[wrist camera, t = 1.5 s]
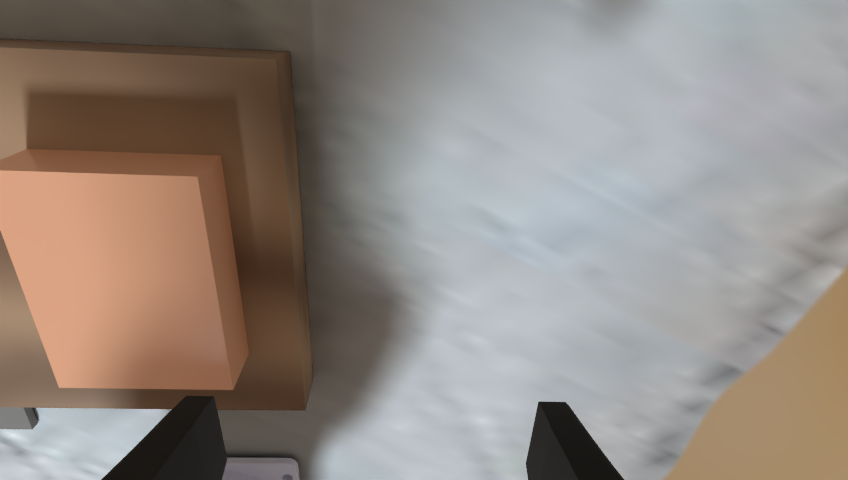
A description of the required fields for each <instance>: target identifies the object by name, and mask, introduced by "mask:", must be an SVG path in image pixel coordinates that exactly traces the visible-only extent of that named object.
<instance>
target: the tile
mask: <svg viewBox="0 0 848 480" xmlns="http://www.w3.org/2000/svg"><path fill="white" fill-rule="evenodd" d="M0 231H1V233H2V236H3V239H4V242H5V244H6V247H7V250H8V252H9V255H10V258H11V260H12V263H13V266H14V268H15V271H16V274H17V276H18V279H19V282H20V284H21V287H22V290H23V293H24V295H25V298H26V301H27V303H28V306H29V309H30V311H31V314H32V317H33V319H34V322H35V325H36V327H37V330H38V333H39V335H40V338H41V341H42V343H43V346H44V349H45V352H46V354H47V357H48V360H49V362H50V365H51V368H52V370H53V373H54V376H55V378H56V381H57V384H58V386H59V388H113V389H194V390H233V389H234V387H235V385H236V382H237V380H238V378H239V375H240V373H241V371H242V368H243V366H244V364H245V361H246V359H247V357H248V354H249V350H248V343H247V336H246V329H245V322H244V315H243V308H242V301H241V294H240V286H239V279H238V272H237V265H236V258H235V251H234V244H233V237H232V230H231V223H230V216H229V209H228V202H227V195H226V188H225V181H224V174H223V167H222V160H221V156H220V155H191V154H161V153H132V152H103V151H73V150H44V149H25V150H23V151H20V152H18V153H16V154H13V155H11V156H9V157H6V158H4V159H2V160H0Z"/></svg>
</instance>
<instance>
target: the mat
mask: <svg viewBox="0 0 848 480" xmlns="http://www.w3.org/2000/svg"><path fill="white" fill-rule="evenodd" d="M37 423H38V421H37V418H36V416H35V414H34V411H33V409H32V408H28V407H0V429H33V428H34V427H35V426H36V425H37Z"/></svg>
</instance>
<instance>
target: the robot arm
mask: <svg viewBox="0 0 848 480" xmlns="http://www.w3.org/2000/svg"><path fill="white" fill-rule="evenodd" d="M526 467H527V474H528V480H624V479H623V478H622V476H621V475H620V474H619V473H618V471H617V470H616V469H615V468H614V466H613V465H612V464H611V462H610V461H609V460H608V459H607V457H606V456H605V455H604V453H603V452H602V451H601V449H600V448H599V447H598V445H597V444H596V443H595V441H594V440H593V439H592V437H591V436H590V434H589V433H588V432H587V430H586V429H585V428H584V426H583V425H582V423H581V422H580V421H579V419H578V418H577V416H576V415H575V414H574V412H573V411H572V409H571V408H570V407H569V405H568V404H567V403H566V402H538V407H537V412H536V417H535V422H534V427H533V432H532V437H531V442H530V446H529V451H528V456H527V461H526ZM102 480H300V478H299V467H298V463H297V462H296V461H295V460H294V459H291V458H227V456H226V452H225V447H224V442H223V437H222V432H221V427H220V422H219V417H218V412H217V407H216V403H215V398H214V396H185V397H184V398H183V399H182V400H181V401H180V402H179V403H178V404H177V405H176V406H175V407H174V408H173V409H172V410H171V411H170V412H169V413H168V414H167V415H166V416H165V417H164V418H163V419H162V420H161V421H160V422H159V423H158V424H157V425H156V426H155V427H154V428H153V429H152V430H151V431H150V432H149V433H148V434H147V435H146V436H145V437H144V438H143V439H142V440H141V441H140V442H139V443H138V444H137V445H136V446H135V447H134V448H133V449H132V450H131V451H130V452H129V453H128V454H127V455H126V456H125V457H124V458H123V459H122V460H121V461H120V462H119V463H118V464H117V465H116V466H115V467H114V468H113V469H112V470H111V471H110V472H109V473H108V474H107V475H106V476H105V477H104V478H103V479H102Z"/></svg>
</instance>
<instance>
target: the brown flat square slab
mask: <svg viewBox="0 0 848 480" xmlns="http://www.w3.org/2000/svg"><path fill="white" fill-rule="evenodd" d="M25 149H44V150H73V151H103V152H132V153H161V154H191V155H220V156H221V160H222V167H223V174H224V181H225V188H226V195H227V202H228V209H229V216H230V223H231V230H232V237H233V244H234V251H235V258H236V265H237V272H238V279H239V286H240V294H241V301H242V308H243V315H244V322H245V329H246V336H247V343H248V350H249V354H248V357H247V359H246V361H245V364H244V366H243V368H242V371H241V373H240V375H239V378H238V380H237V382H236V385H235V387H234V389H233V390H194V389H113V388H59V386H58V384H57V381H56V378H55V376H54V373H53V370H52V368H51V365H50V362H49V360H48V357H47V354H46V352H45V349H44V346H43V343H42V341H41V338H40V335H39V333H38V330H37V327H36V325H35V322H34V319H33V317H32V314H31V311H30V309H29V306H28V303H27V301H26V298H25V295H24V293H23V290H22V287H21V284H20V282H19V279H18V276H17V274H16V271H15V268H14V266H13V263H12V260H11V258H10V255H9V252H8V250H7V247H6V244H5V242H4V239H3V236H2V233H1V231H0V407H28V408H122V409H173V408H174V407H175V406H176V405H177V404H178V403H179V402H180V401H181V400H182V399H183V398H184V397H185V396H214V398H215V403H216V407H217V410H306V405H307V401H308V397H309V393H310V389H311V385H312V381H313V366H312V352H311V338H310V324H309V310H308V296H307V282H306V268H305V254H304V240H303V226H302V212H301V197H300V183H299V169H298V155H297V141H296V127H295V113H294V99H293V85H292V71H291V57H290V51H268V50H245V49H222V48H199V47H176V46H154V45H131V44H108V43H85V42H62V41H40V40H17V39H0V160H2V159H4V158H6V157H9V156H11V155H13V154H16V153H18V152H20V151H23V150H25Z"/></svg>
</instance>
